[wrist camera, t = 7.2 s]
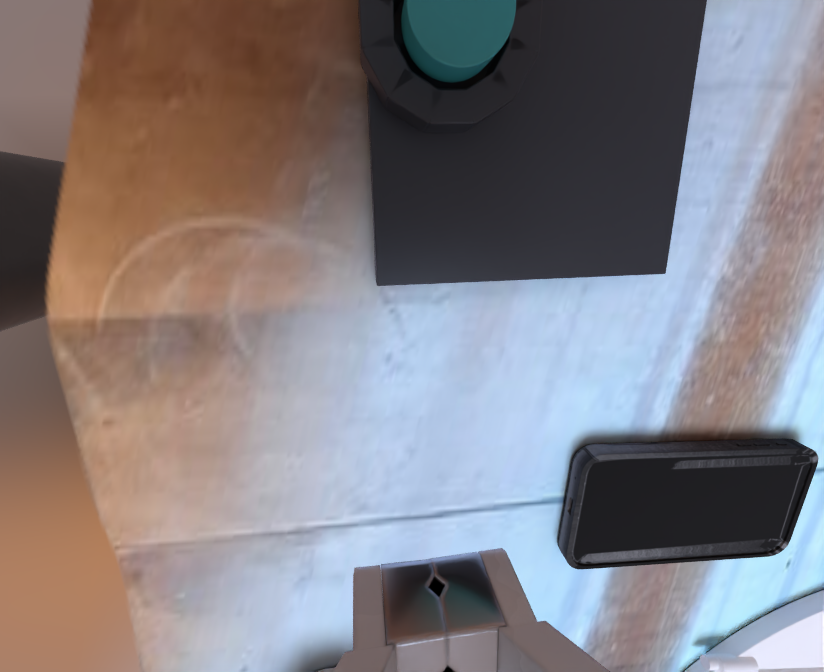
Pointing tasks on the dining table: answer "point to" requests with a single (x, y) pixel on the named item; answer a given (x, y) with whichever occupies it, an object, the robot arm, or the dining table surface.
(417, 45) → the button
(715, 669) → the lazy susan
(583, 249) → the scale
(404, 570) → the robot arm
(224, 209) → the dining table surface
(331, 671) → the white plastic cup
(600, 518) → the phone
